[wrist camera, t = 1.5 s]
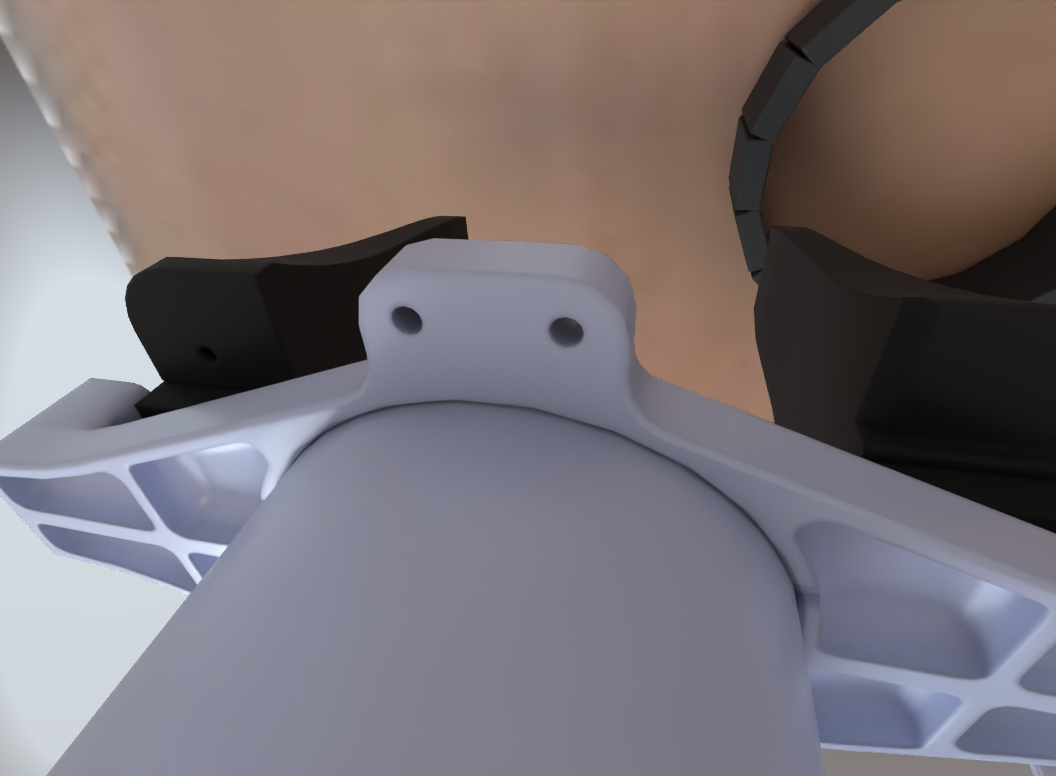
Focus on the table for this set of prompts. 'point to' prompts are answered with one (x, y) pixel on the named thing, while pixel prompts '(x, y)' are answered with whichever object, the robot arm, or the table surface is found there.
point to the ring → (846, 10)
